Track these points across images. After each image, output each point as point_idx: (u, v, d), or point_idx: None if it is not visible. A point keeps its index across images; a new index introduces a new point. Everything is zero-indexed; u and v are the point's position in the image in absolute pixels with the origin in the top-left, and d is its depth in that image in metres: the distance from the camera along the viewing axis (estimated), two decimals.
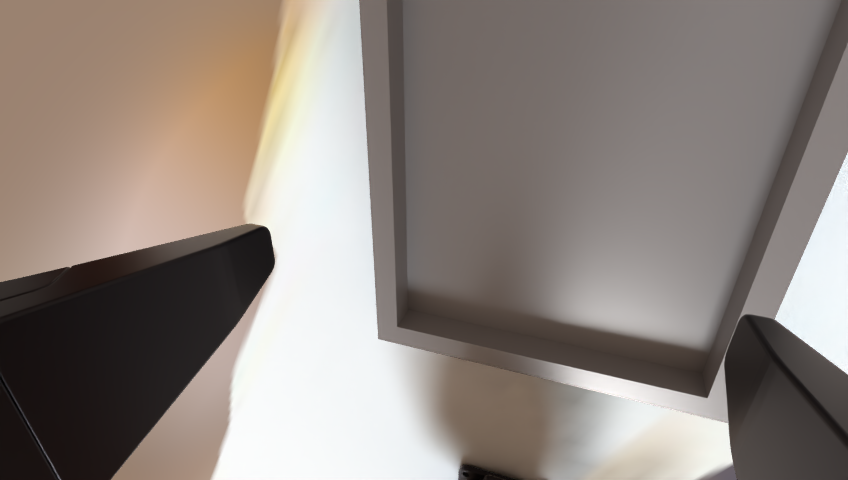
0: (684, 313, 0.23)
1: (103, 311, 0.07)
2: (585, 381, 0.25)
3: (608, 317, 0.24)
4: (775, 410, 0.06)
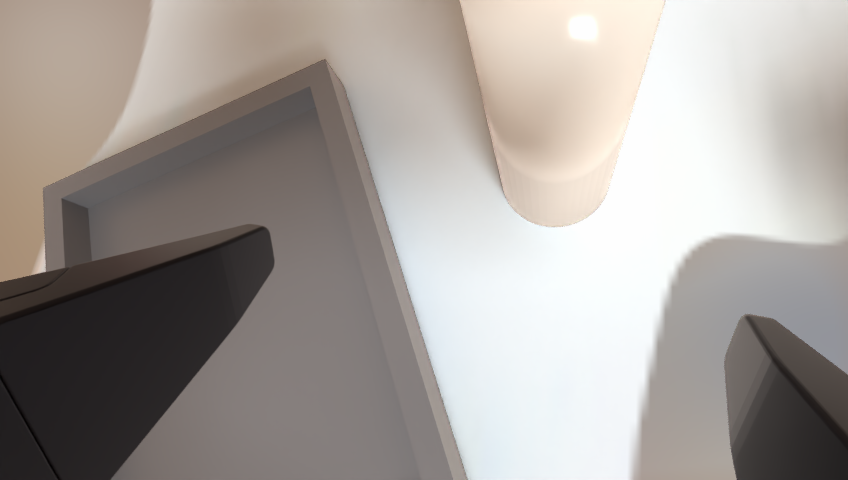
0: (389, 457, 0.21)
1: (103, 311, 0.07)
2: None
3: None
4: (775, 410, 0.06)
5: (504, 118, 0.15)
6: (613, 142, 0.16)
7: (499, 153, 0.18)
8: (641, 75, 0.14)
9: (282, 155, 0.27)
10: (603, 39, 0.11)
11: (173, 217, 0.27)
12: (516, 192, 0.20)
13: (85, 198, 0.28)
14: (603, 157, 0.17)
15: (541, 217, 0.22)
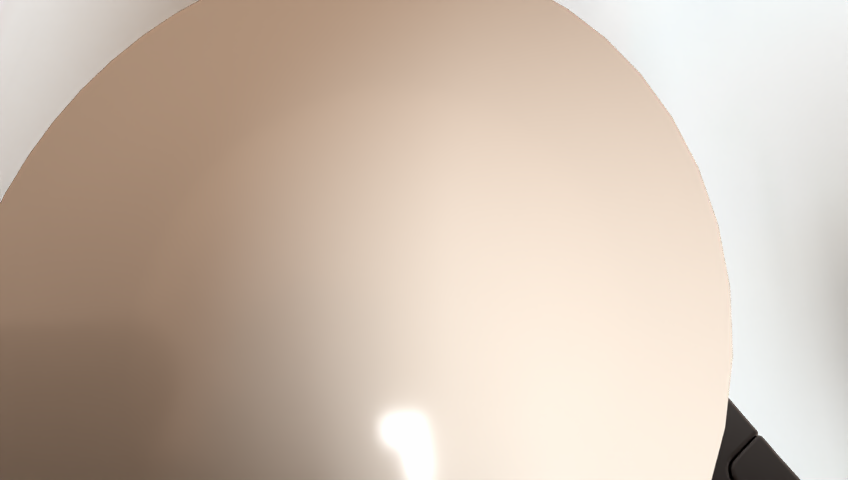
0: None
1: None
2: None
3: None
4: None
5: None
6: None
7: None
8: None
9: None
10: None
11: None
12: None
13: None
14: None
15: None
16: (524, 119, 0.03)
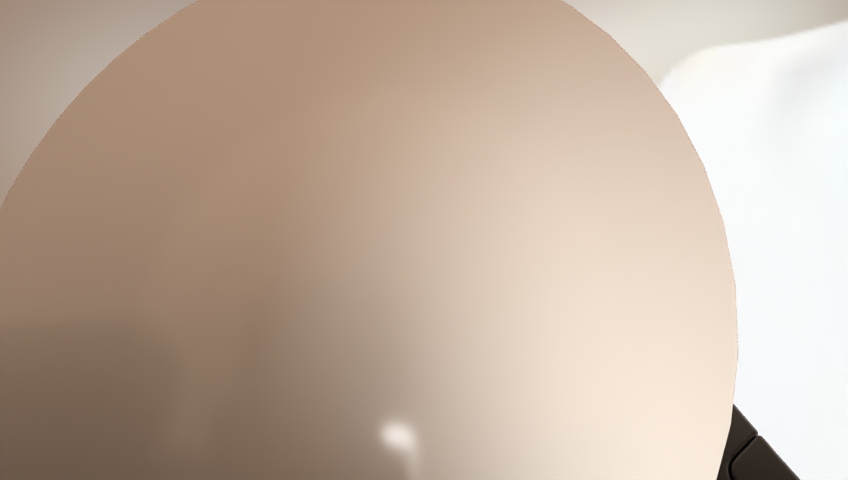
0: None
1: None
2: None
3: None
4: None
5: None
6: None
7: None
8: None
9: None
10: None
11: None
12: None
13: None
14: None
15: None
16: (529, 117, 0.03)
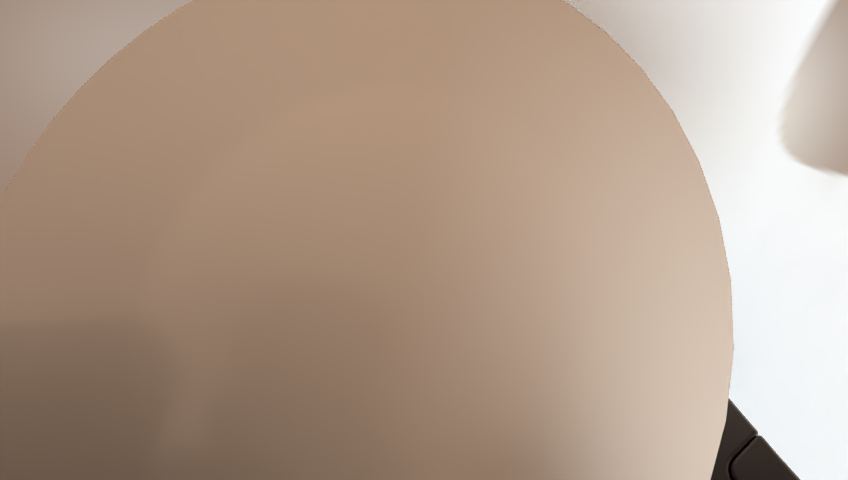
0: None
1: None
2: None
3: None
4: None
5: None
6: None
7: None
8: None
9: None
10: None
11: None
12: None
13: None
14: None
15: None
16: (526, 115, 0.03)
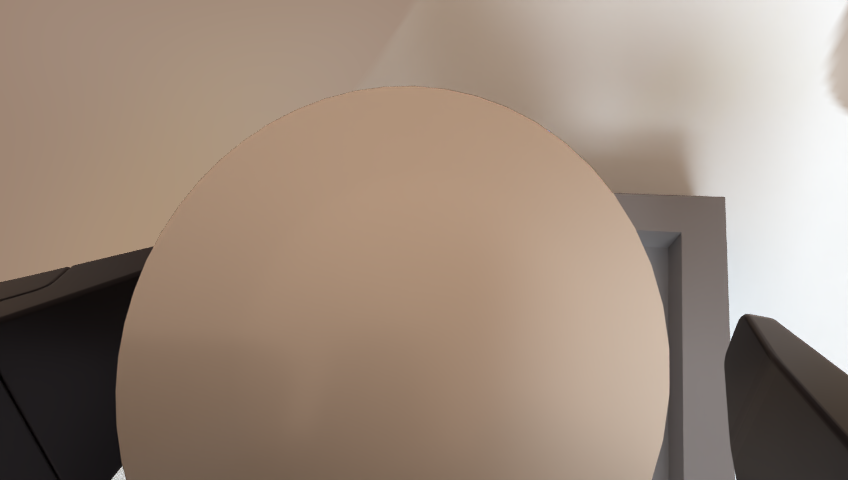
0: None
1: (103, 311, 0.07)
2: None
3: None
4: (775, 410, 0.06)
5: None
6: None
7: None
8: None
9: None
10: None
11: None
12: None
13: None
14: None
15: None
16: (535, 224, 0.04)
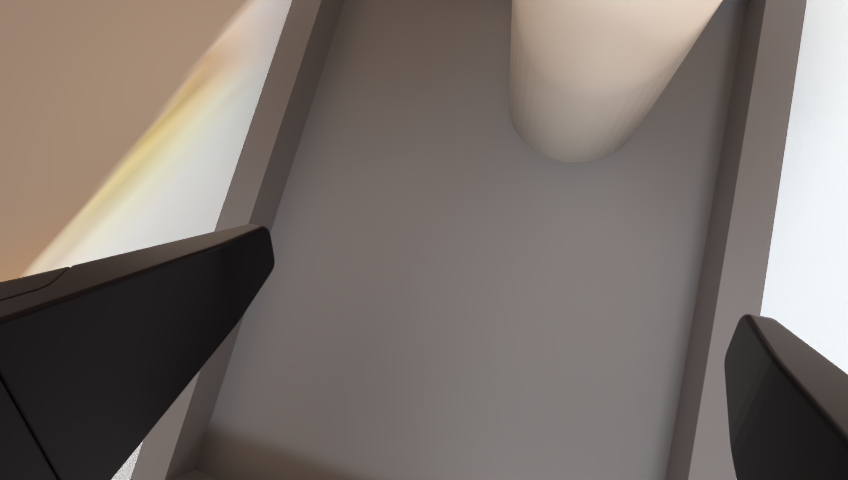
0: None
1: (103, 311, 0.07)
2: None
3: None
4: (775, 410, 0.06)
5: None
6: (690, 37, 0.11)
7: (521, 40, 0.13)
8: None
9: None
10: None
11: (463, 36, 0.20)
12: (530, 105, 0.15)
13: None
14: (668, 60, 0.12)
15: (554, 147, 0.17)
16: None
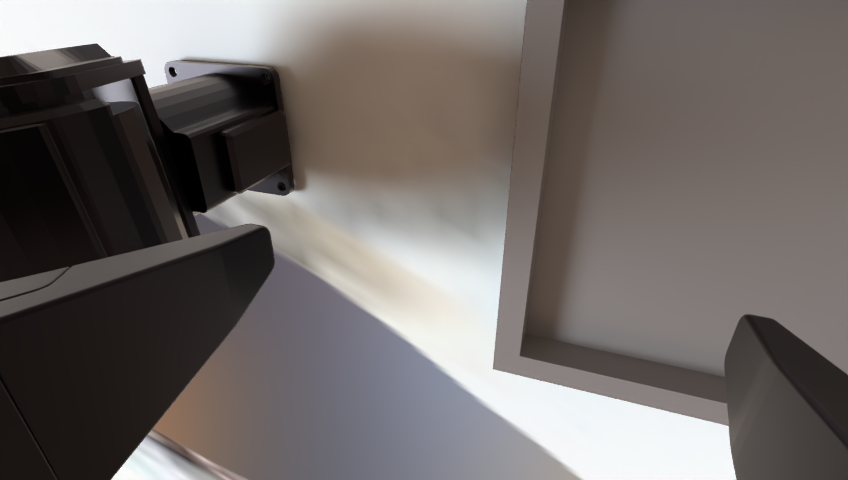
0: (599, 323, 0.23)
1: (103, 311, 0.07)
2: (514, 256, 0.21)
3: (586, 260, 0.22)
4: (775, 410, 0.06)
5: None
6: None
7: None
8: None
9: None
10: None
11: None
12: None
13: None
14: None
15: None
16: None
